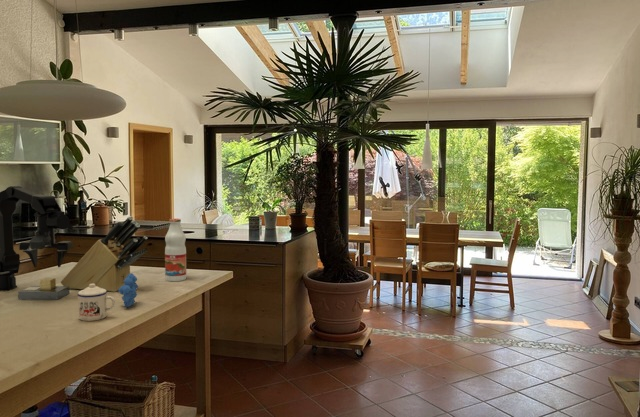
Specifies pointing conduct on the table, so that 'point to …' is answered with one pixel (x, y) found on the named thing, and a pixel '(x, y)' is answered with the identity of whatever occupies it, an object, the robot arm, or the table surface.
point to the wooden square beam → (47, 284)
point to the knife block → (107, 259)
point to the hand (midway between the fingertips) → (47, 267)
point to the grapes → (129, 290)
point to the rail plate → (43, 293)
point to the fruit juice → (175, 252)
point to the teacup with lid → (93, 303)
